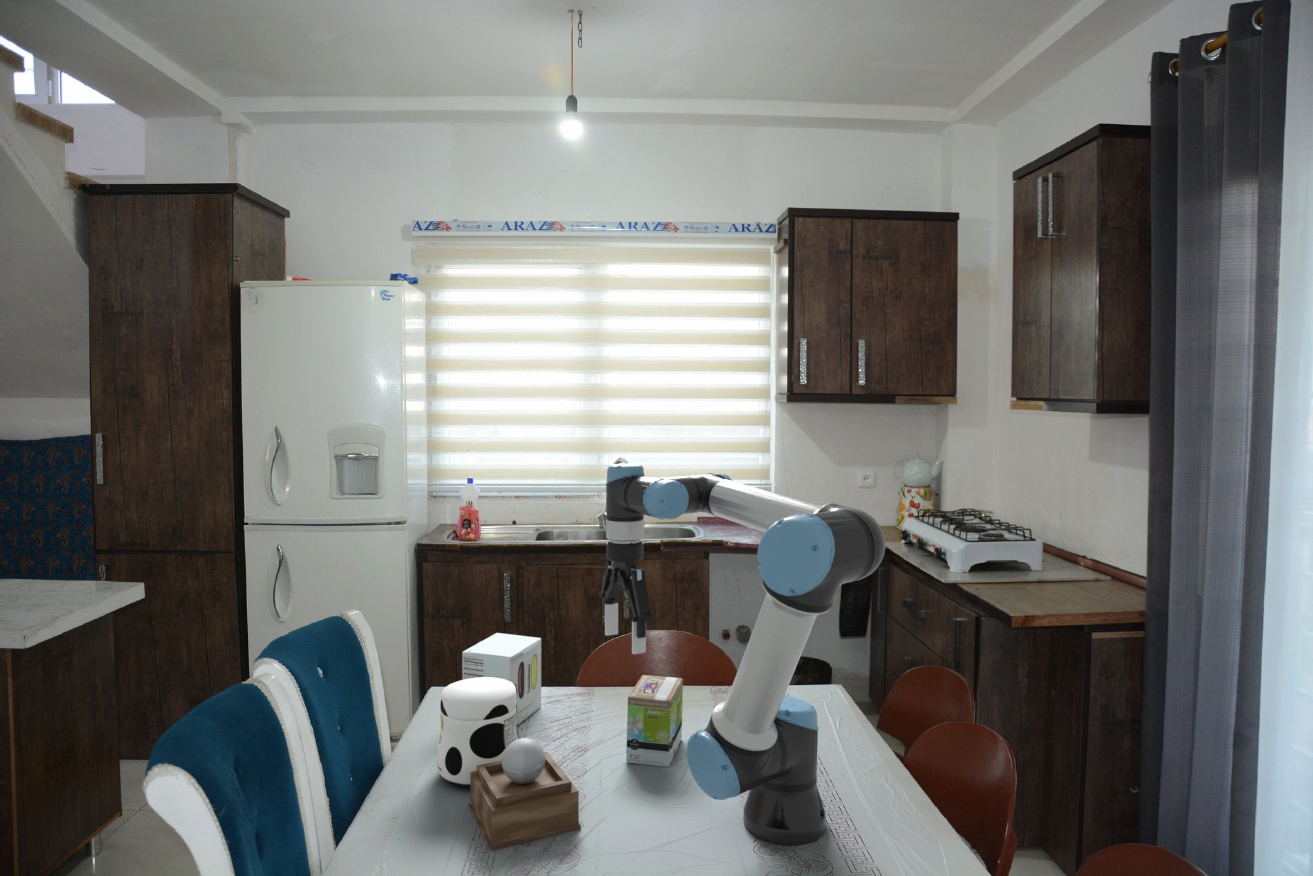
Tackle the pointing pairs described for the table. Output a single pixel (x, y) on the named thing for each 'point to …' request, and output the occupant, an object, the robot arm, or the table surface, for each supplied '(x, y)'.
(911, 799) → the table surface
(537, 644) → the supplement box
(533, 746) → the bath bomb
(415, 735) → the table surface
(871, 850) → the table surface
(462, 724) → the milk container
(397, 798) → the table surface
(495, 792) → the brown open square box
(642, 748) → the tea box
